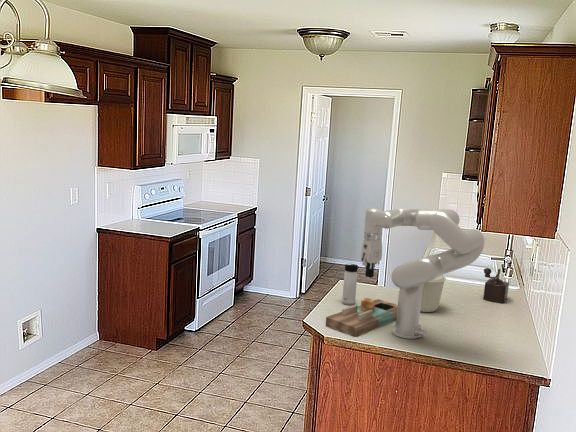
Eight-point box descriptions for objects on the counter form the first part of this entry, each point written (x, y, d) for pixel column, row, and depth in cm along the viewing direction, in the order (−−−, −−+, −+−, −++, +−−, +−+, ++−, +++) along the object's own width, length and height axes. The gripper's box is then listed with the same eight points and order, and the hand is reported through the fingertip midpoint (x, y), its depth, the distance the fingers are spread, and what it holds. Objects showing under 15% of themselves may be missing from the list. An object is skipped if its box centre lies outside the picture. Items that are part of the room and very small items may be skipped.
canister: (449, 314, 272) (454, 271, 268) (416, 316, 266) (420, 272, 262) (429, 301, 289) (433, 261, 285) (397, 303, 283) (401, 262, 279)
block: (374, 309, 260) (375, 299, 259) (371, 313, 255) (371, 302, 254) (363, 307, 262) (364, 297, 261) (360, 310, 257) (361, 300, 256)
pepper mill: (486, 294, 306) (489, 262, 303) (507, 299, 300) (511, 266, 297) (478, 302, 293) (482, 268, 290) (501, 306, 287) (505, 272, 284)
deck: (405, 316, 266) (407, 301, 264) (355, 336, 237) (356, 320, 236) (377, 306, 276) (378, 293, 275) (325, 325, 248) (326, 310, 246)
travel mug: (345, 305, 275) (348, 265, 272) (340, 301, 282) (343, 262, 278) (357, 305, 277) (360, 265, 273) (352, 301, 283) (355, 262, 280)
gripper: (369, 240, 241) (366, 281, 244) (389, 235, 252) (385, 275, 255) (355, 236, 246) (352, 277, 249) (375, 232, 257) (372, 272, 260)
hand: (369, 276), depth 252 cm, fingers closed
